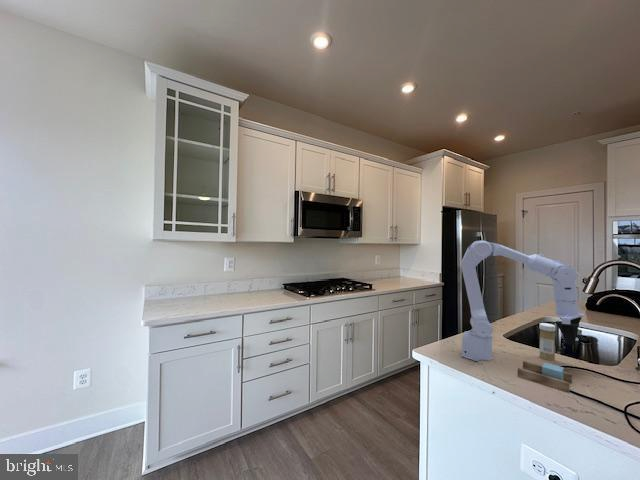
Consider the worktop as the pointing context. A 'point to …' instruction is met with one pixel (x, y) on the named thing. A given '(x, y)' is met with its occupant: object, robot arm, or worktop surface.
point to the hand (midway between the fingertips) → (571, 340)
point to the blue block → (553, 371)
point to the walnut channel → (544, 377)
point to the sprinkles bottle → (547, 341)
